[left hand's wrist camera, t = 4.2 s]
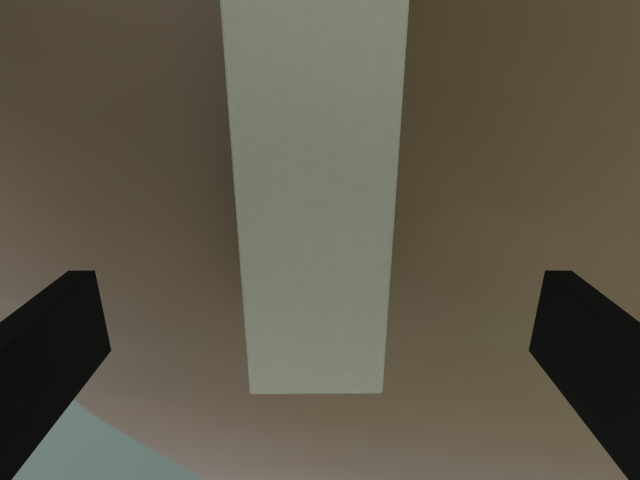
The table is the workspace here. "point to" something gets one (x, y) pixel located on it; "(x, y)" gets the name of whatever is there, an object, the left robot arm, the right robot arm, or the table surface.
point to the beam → (315, 185)
